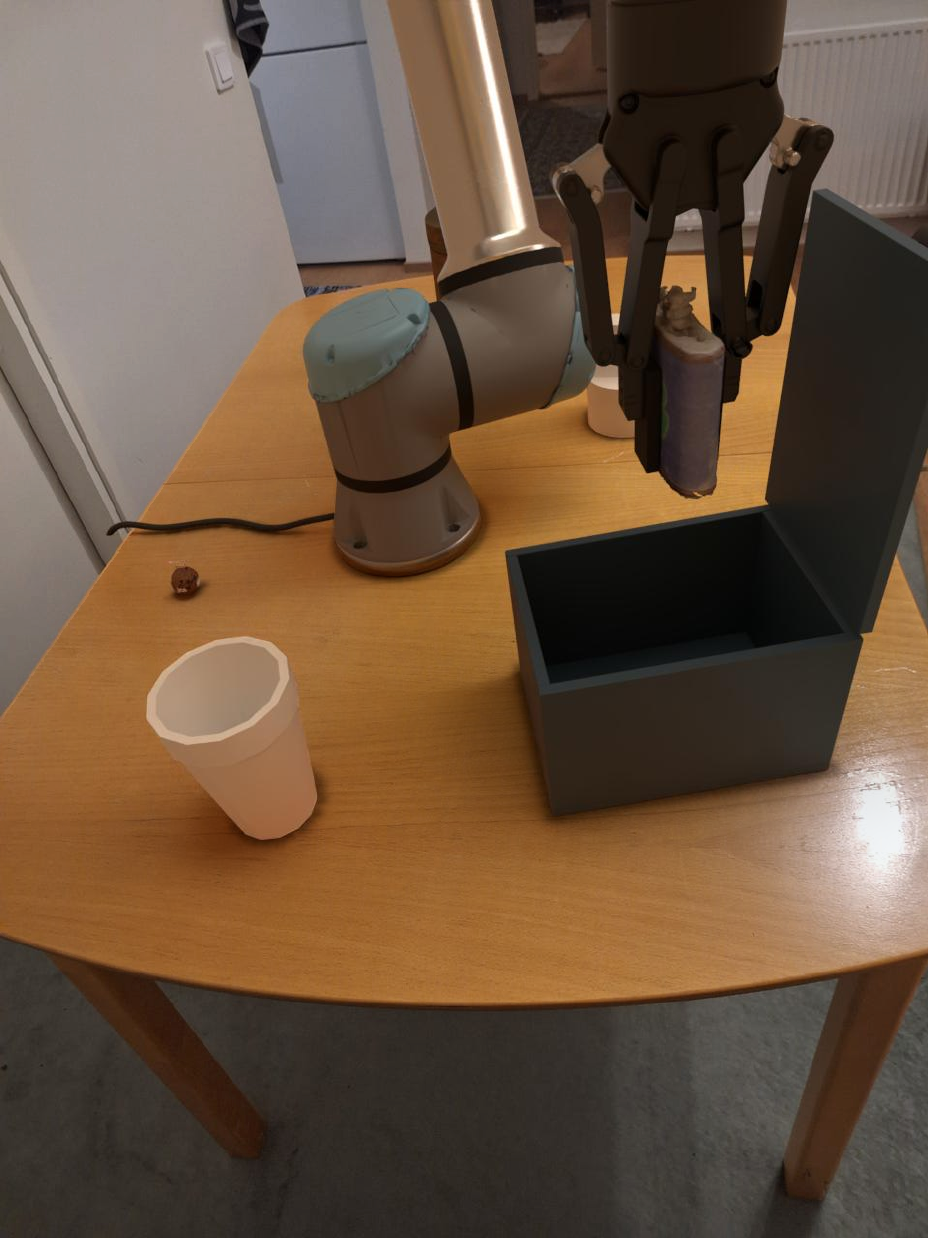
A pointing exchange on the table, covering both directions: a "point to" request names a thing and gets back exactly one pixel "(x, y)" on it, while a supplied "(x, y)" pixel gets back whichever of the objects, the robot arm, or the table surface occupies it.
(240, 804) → the foam cup
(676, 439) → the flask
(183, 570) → the chocolate
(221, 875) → the table surface
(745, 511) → the box
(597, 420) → the cylinder with rectangular tab
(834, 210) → the lunchbox lid
